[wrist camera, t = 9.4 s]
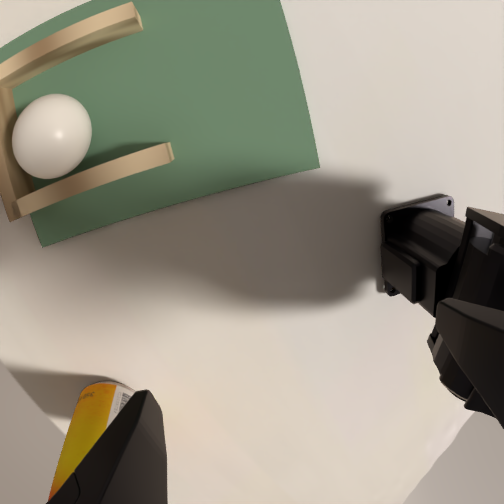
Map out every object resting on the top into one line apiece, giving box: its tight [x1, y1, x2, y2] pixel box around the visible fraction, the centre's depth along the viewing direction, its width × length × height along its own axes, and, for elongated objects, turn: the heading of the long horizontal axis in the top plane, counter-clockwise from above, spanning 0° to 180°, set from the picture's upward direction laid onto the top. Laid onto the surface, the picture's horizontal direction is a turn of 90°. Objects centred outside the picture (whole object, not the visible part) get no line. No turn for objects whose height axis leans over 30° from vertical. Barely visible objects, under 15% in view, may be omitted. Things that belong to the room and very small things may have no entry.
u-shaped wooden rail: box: [0, 2, 174, 222], centre depth 14 cm, size 10×9×2 cm
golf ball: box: [12, 94, 92, 179], centre depth 14 cm, size 4×4×4 cm
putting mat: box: [0, 0, 320, 248], centre depth 16 cm, size 18×14×1 cm
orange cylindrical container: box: [48, 381, 135, 501], centre depth 16 cm, size 6×6×15 cm
